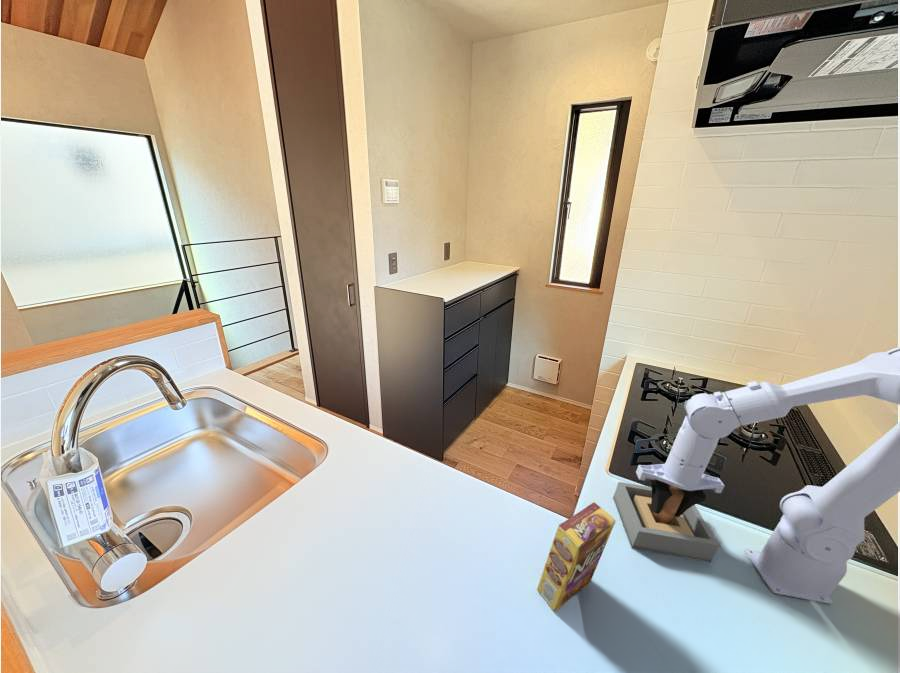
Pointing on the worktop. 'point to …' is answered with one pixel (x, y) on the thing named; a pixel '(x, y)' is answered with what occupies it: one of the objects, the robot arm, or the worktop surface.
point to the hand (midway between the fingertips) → (664, 511)
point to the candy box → (575, 555)
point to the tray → (662, 537)
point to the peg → (669, 506)
